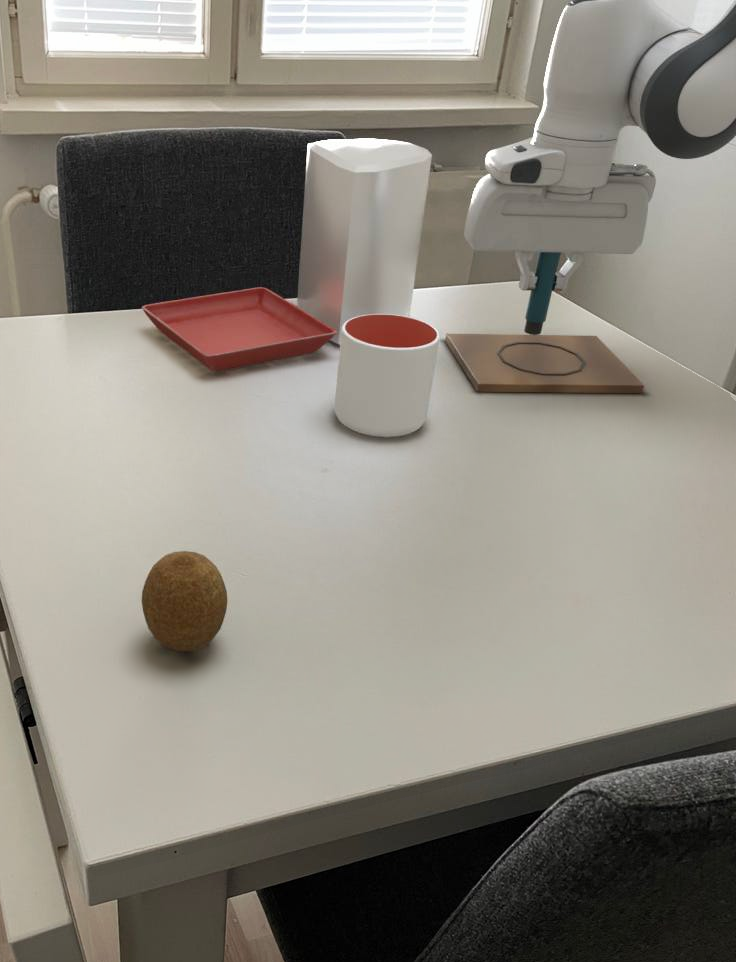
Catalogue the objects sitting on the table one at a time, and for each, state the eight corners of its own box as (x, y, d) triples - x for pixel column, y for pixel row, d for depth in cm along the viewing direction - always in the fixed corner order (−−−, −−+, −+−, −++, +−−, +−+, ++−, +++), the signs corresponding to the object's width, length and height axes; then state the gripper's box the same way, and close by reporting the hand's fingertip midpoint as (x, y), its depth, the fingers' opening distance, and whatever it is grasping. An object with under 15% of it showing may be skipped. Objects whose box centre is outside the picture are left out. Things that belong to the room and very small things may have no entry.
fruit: (144, 620, 76) (141, 531, 72) (224, 620, 77) (227, 532, 72) (141, 671, 72) (138, 579, 67) (227, 671, 72) (230, 580, 67)
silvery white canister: (290, 307, 135) (302, 128, 121) (386, 300, 139) (407, 126, 125) (331, 348, 123) (349, 156, 110) (434, 339, 127) (463, 153, 114)
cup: (444, 429, 106) (460, 338, 100) (372, 450, 101) (385, 355, 95) (384, 395, 113) (396, 307, 107) (314, 413, 108) (322, 322, 102)
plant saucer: (206, 382, 113) (206, 354, 111) (139, 330, 125) (139, 303, 123) (337, 358, 121) (339, 331, 119) (262, 311, 133) (263, 286, 131)
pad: (594, 343, 129) (596, 334, 128) (642, 393, 116) (645, 384, 116) (444, 340, 127) (446, 332, 127) (476, 392, 115) (478, 383, 114)
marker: (539, 328, 121) (564, 216, 113) (545, 335, 119) (571, 222, 111) (519, 328, 120) (543, 215, 113) (525, 335, 119) (550, 221, 111)
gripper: (648, 158, 112) (616, 282, 120) (472, 152, 110) (451, 279, 118) (672, 171, 107) (636, 300, 115) (488, 166, 105) (465, 296, 113)
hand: (541, 289), depth 117 cm, fingers closed on marker, 2 cm apart
